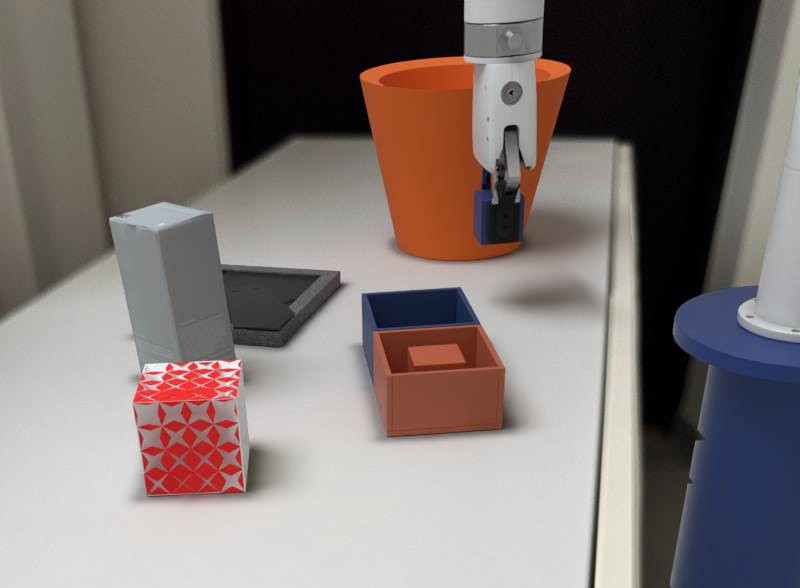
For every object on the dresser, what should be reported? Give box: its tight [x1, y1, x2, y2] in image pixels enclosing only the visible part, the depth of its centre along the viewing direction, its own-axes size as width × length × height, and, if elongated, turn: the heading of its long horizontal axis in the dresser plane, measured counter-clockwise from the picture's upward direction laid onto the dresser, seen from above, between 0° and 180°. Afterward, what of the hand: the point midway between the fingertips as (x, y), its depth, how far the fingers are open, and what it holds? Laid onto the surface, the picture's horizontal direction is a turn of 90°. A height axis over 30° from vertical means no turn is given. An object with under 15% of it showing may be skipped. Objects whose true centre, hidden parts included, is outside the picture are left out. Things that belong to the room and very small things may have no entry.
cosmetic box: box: [108, 201, 237, 375], centre depth 99 cm, size 8×7×16 cm
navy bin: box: [361, 286, 482, 388], centre depth 103 cm, size 10×11×6 cm
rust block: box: [408, 344, 466, 373], centre depth 94 cm, size 4×4×4 cm
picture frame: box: [221, 263, 342, 348], centre depth 119 cm, size 16×2×21 cm
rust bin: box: [373, 323, 506, 438], centre depth 94 cm, size 10×11×6 cm
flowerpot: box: [359, 56, 572, 261], centre depth 131 cm, size 25×25×20 cm
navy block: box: [473, 189, 525, 245], centre depth 111 cm, size 4×4×4 cm
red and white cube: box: [132, 359, 251, 497], centre depth 85 cm, size 8×8×8 cm
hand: (498, 234), depth 112 cm, fingers closed on navy block, 4 cm apart
